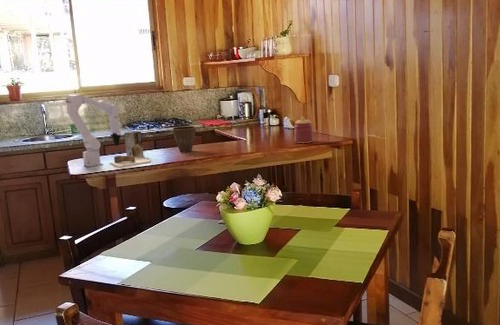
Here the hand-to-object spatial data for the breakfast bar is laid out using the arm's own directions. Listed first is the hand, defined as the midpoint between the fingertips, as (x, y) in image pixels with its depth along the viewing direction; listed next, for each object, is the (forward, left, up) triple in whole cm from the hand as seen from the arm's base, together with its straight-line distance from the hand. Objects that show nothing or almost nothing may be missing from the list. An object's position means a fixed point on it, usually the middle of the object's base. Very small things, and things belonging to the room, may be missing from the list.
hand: (116, 145), depth 323 cm
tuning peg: (-1, -15, -8) cm, 17 cm away
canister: (+117, -41, -10) cm, 124 cm away
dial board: (+2, -16, -9) cm, 19 cm away
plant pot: (+44, -7, -10) cm, 46 cm away
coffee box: (+12, +2, -10) cm, 15 cm away
